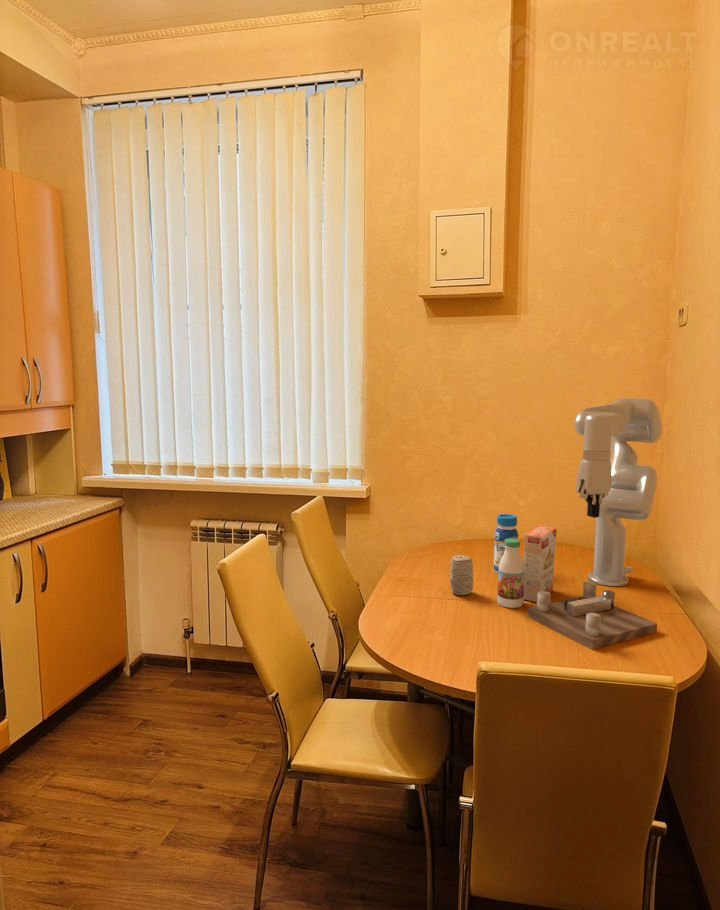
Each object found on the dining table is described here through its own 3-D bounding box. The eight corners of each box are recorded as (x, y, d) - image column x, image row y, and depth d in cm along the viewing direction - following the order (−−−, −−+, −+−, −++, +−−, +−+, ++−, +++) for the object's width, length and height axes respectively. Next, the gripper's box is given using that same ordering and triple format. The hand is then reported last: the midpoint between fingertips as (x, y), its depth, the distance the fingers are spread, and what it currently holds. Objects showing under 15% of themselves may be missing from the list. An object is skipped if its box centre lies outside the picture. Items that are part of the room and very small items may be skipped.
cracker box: (540, 604, 190) (543, 537, 187) (521, 599, 194) (523, 534, 191) (554, 590, 202) (557, 527, 199) (536, 587, 205) (538, 524, 202)
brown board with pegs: (588, 603, 191) (589, 579, 190) (656, 632, 170) (658, 605, 169) (527, 616, 180) (528, 591, 179) (592, 649, 159) (594, 621, 158)
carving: (445, 591, 200) (446, 555, 199) (466, 588, 203) (467, 553, 201) (455, 598, 194) (456, 561, 193) (476, 595, 197) (477, 558, 195)
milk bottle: (493, 599, 193) (496, 537, 191) (518, 599, 194) (520, 536, 191) (501, 609, 186) (504, 544, 183) (526, 608, 186) (529, 543, 184)
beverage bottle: (516, 568, 224) (518, 513, 221) (518, 576, 216) (520, 519, 213) (492, 567, 225) (494, 512, 223) (493, 574, 217) (495, 518, 214)
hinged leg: (607, 604, 183) (608, 589, 182) (616, 608, 180) (617, 593, 179) (566, 612, 176) (567, 597, 176) (574, 616, 173) (575, 601, 173)
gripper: (604, 453, 191) (601, 511, 194) (568, 456, 185) (565, 516, 187) (624, 456, 185) (620, 516, 187) (587, 459, 178) (584, 522, 181)
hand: (593, 516), depth 187 cm, fingers closed
